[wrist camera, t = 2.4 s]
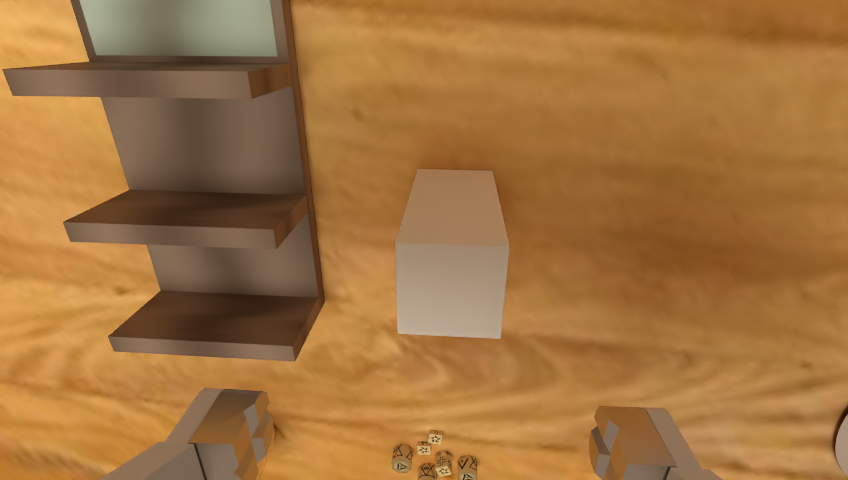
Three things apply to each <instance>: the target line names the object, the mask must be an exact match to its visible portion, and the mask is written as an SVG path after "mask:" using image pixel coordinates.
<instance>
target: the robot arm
mask: <svg viewBox="0 0 848 480" xmlns="http://www.w3.org/2000/svg"><path fill="white" fill-rule="evenodd" d="M268 405H269V399H268V395H267V393H266V392H263V391H249V390H235V389H215V388H205V389H203V390H202V391H200V392H199V394H198V395H197V396H196V398H195V399H194V401H193V402H192V404H191V405H190V406H189V408H188V409H187V411H186V412H185V414H184V415H183V416H182V418H181V419H180V421H179V422H178V424H177V425H176V426H175V428H174V429H173V431H172V432H171V434H170V435H169V436H168V438H167V439H166V441H165V442H158V443H156V444H155V445H153V446H151V447H150V448H148V449H147V450H145V451H144V452H142V453H140V454H139V455H137V456H136V457H134V458H133V459H131V460H129V461H128V462H126V463H125V464H123V465H122V466H120V467H119V468H117V469H115V470H114V471H112V472H111V473H109V474H108V475H106V476H104V477H103V478H101V479H100V480H256V478H257V476H258V473H259V472H258V467H257V463H258V462H259V461H260V460H262V459H263V458H264V457H265V456H266V455H267V452H268V450H269V447H270V445H271V440H272V435H273V419H272V416H271V415H270V414H269V413H268V412H267V411H266V409H267V407H268ZM594 418H595V420H596V423H597V427H595V428H594V429H593V430H592V431H591V434H590V439H589V453H590V458H591V463H592V466H593V469H594V472H595V473H596V474H597V475H598V476H599V477H600V478H601V479H602V480H723V479H721V478H720V477H719V476H717V475H716V474H715V473H713V472H712V471H711V470H709V469H702V468H701V466H700V464H699V462H698V461H697V459H696V457H695V456H694V454H693V452H692V451H691V449H690V447H689V446H688V444H687V442H686V441H685V439H684V437H683V436H682V434H681V432H680V431H679V429H678V427H677V426H676V424H675V422H674V421H673V419H672V417H671V416H670V414H669V412H668V411H667V410H665V409H664V408H644V407H642V408H640V407H616V406H599V407H598V409H597V410H596V414H595V417H594ZM835 451H836V458H837V461H838V463H839V466H840V467H841V469H842V470H843V472H844V473H845V474H846V475H847V476H848V415H847V416H846V418H845V419H844V421H843V423H842V425H841V427H840V429H839V432H838V435H837V439H836V445H835Z"/></svg>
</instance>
